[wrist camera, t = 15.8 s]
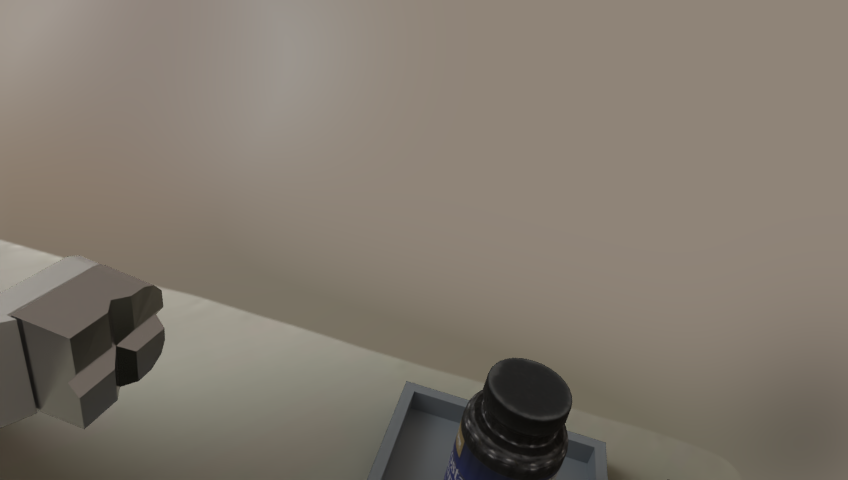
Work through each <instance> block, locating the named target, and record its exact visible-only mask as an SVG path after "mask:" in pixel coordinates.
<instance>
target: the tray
mask: <svg viewBox="0 0 848 480" xmlns="http://www.w3.org/2000/svg"><path fill="white" fill-rule="evenodd" d="M468 402H469V400H466V399H463V398H460V397H457V396H453V395H450V394H447V393H444V392H440V391H437V390H434V389H431V388H427V387H424V386H421V385H418V384H415V383H411V382H408V381H406V384H405V386H404V389H403V391H402V394H401V396H400V399H399V401H398V404H397V406H396V409H395V411H394V414H393V416H392V419H391V421H390V424H389V426H388V429H387V431H386V434H385V436H384V439H383V441H382V443H381V446H380V448H379V451H378V453H377V456H376V458H375V461H374V463H373V466H372V468H371V471H370V473H369V476H368V478H367V480H443V479H444V476H445V473H446V469H447V466H448V462H449V459H450V456H451V452H452V449H453V446H454V442H455V439H456V436H457V433H458V429H459V426H460V423H461V419H462V416H463V412H464V410H465V407H466V405H467V403H468ZM567 434H568V448H567V449H568V450H567V453H566V456H565V458H564V461H563V463H562V466H561V468H560V470H559V472H558V474H557V477H556V479H555V480H608V477H607V459H606V442H602V441H599V440H596V439H593V438H589V437H586V436H583V435H580V434H576V433H573V432H570V431H567Z"/></svg>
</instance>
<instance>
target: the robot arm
mask: <svg viewBox="0 0 848 480" xmlns="http://www.w3.org/2000/svg"><path fill="white" fill-rule="evenodd" d="M162 308H163V299H162V290H160V289H159V288H157V287H156V286H154V285H152V284H150V283H147V282H145V281H142V280H140V279H137V278H135V277H133V276H130V275H128V274H125V273H123V272H120V271H118V270H115V269H113V268H111V267H108V266H106V265H101V264H99V263H97V262H94V261H92V260H89V259H87V258H84V257H82V256H80V255H79V256H67V257H65V258H64V259H62V260H60V261H58V262H56V263H54V264H53V265H51V266H49V267H47V268H45V269H43V270H42V271H40V272H38V273H36V274H34V275H32V276H31V277H29V278H27V279H25V280H23V281H21V282H20V283H18V284H16V285H14V286H12V287H10V288H9V289H7V290H5V291H3V292H1V293H0V428H2V427H4V426H7V425H9V424H12V423H14V422H16V421H19V420H21V419H24V418H26V417H29V416H31V415H34V414H36V413H37V410H38V411H40V412H43V413H45V414H48V415H50V416H53V417H55V418H58V419H60V420H63V421H65V422H68V423H70V424H73V425H75V426H78V427H80V428H83V429H85V428H86V427H87V426H88V425H90V424H91V423H92V422H93V421H94V420H95V419H96V418H98V417H99V416H100V415H101V414H102V413H103V412H104V411H105V410H107V409H108V408H109V407H110V406H111V405H112V404H113V403H115V402H116V401H117V400H118V395H119V390H120V387H121V386H124V385H128V384H131V383H134V382H137V381H139V380H140V379H141V378H142V377H144V376H145V375H146V374H147V373H148V372H149V371H150V370H151V369H152V368H153V366H154V364H155V363H156V361H157V359H158V358H159V356H160V355H161V353H162V349H163V345H164V341H165V333H164V327H163V325H162V324H161V322H160V320H159V319H158V317H157V315H156V314H157V313H158V312H159V311H160V310H161V309H162ZM668 480H669V479H668Z"/></svg>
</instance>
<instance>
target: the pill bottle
mask: <svg viewBox="0 0 848 480" xmlns="http://www.w3.org/2000/svg"><path fill="white" fill-rule="evenodd" d="M571 406H572V395H571V392H570V389H569V387H568V386H567V384H566V383H565V381H564V380H563V379H562V378H561V377H560V376H559V375H558V374H557V373H556V372H554V371H553V370H551V369H550V368H548V367H546V366H545V365H543V364H540V363H538V362H535V361H532V360H527V359H523V358H511V359H510V358H509V359H505V360H502V361H500V362H498V363H496V364H495V365H494V366H493V367H492V368H491V370H490V372H489V373H488V376H487V379H486V382H485V385H484V387H483V390H481V391H480V392H478V393H477V394H475V395H474V396H473V397H472V398H471V399H470V400H469V402H468V403H467V405H466V407H465V410H464V412H463V416H462V419H461V423H460V426H459V429H458V433H457V436H456V439H455V442H454V446H453V449H452V452H451V456H450V459H449V462H448V466H447V469H446V473H445V476H444V479H443V480H555V479H556V477H557V474H558V472H559V470H560V468H561V466H562V463H563V461H564V458H565V456H566V453H567V450H568V449H567V448H568V434H567V430H566V426H565V423H566V420H567V418H568V414H569V412H570V409H571Z"/></svg>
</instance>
